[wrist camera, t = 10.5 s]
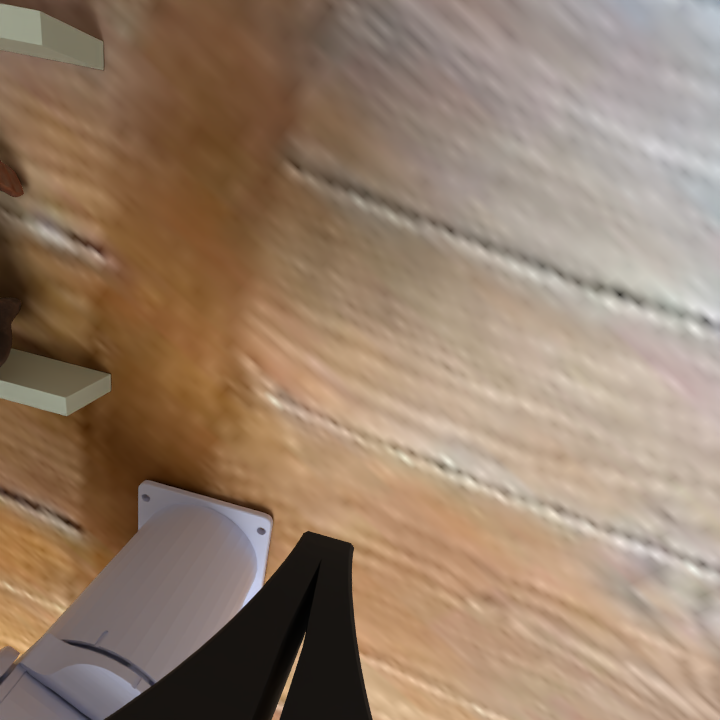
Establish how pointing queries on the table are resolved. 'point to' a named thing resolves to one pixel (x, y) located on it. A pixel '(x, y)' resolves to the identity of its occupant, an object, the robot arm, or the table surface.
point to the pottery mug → (6, 309)
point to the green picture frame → (22, 369)
